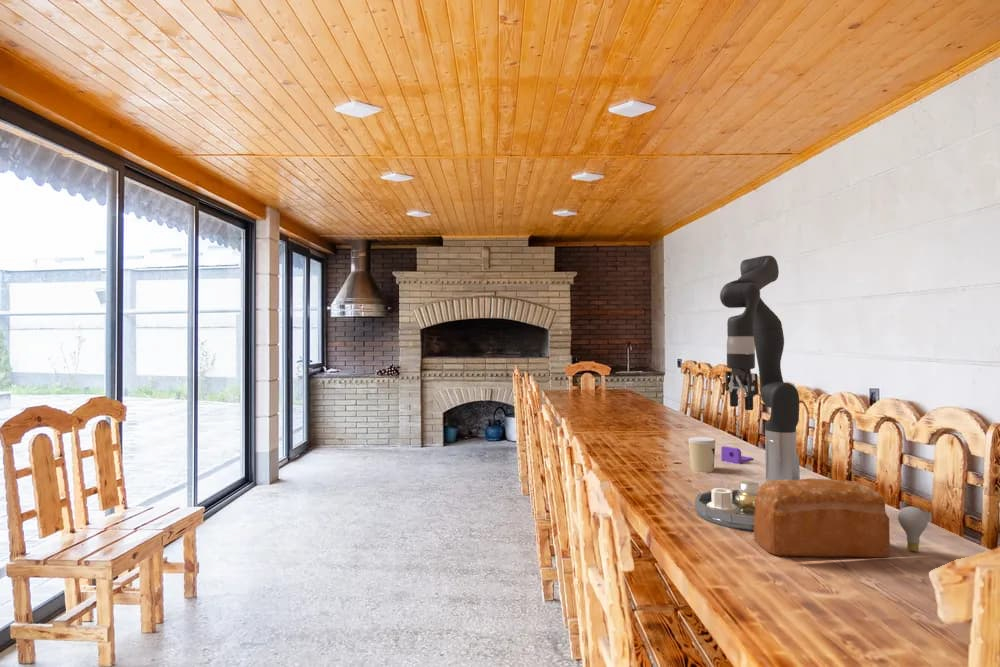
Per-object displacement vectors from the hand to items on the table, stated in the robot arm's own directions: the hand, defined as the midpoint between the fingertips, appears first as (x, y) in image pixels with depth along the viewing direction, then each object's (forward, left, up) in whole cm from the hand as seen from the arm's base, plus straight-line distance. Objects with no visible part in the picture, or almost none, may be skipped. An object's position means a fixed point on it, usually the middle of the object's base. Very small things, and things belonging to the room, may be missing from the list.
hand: (741, 408), depth 165 cm
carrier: (+3, +9, -28) cm, 30 cm away
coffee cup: (-7, -42, -28) cm, 51 cm away
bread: (0, +34, -28) cm, 44 cm away
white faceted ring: (+10, +9, -27) cm, 30 cm away
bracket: (-27, -55, -29) cm, 68 cm away
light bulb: (-20, +38, -28) cm, 51 cm away
